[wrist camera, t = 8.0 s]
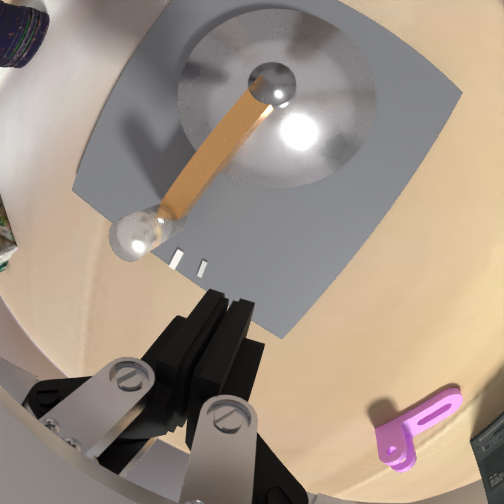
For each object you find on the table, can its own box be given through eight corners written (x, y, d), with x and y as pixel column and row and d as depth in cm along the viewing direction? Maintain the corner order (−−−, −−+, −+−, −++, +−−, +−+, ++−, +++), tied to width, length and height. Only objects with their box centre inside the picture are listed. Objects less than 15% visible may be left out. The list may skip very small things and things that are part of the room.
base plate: (216, -33, 16) (210, -43, 14) (452, 96, 17) (463, 92, 15) (83, 187, 26) (70, 190, 24) (283, 327, 27) (281, 340, 25)
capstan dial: (263, -4, 15) (244, -62, 8) (403, 96, 16) (452, 69, 9) (119, 174, 22) (52, 187, 15) (236, 278, 23) (205, 333, 16)
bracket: (388, 440, 31) (394, 476, 25) (374, 428, 30) (380, 467, 24) (462, 398, 27) (477, 431, 20) (455, 381, 26) (472, 417, 20)
